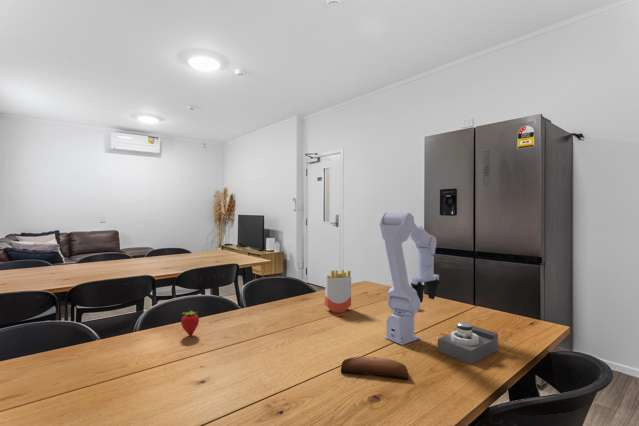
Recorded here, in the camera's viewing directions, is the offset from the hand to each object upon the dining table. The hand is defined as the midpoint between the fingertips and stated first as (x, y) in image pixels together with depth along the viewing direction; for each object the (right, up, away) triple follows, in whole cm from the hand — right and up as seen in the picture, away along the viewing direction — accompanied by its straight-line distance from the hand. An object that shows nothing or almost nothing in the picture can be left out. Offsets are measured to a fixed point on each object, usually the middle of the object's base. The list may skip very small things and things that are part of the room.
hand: (425, 300), depth 131 cm
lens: (+4, -6, -26) cm, 26 cm away
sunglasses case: (-26, -11, -37) cm, 46 cm away
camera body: (+6, -10, -24) cm, 27 cm away
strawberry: (-87, -10, -12) cm, 88 cm away
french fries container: (-33, -9, +18) cm, 39 cm away
